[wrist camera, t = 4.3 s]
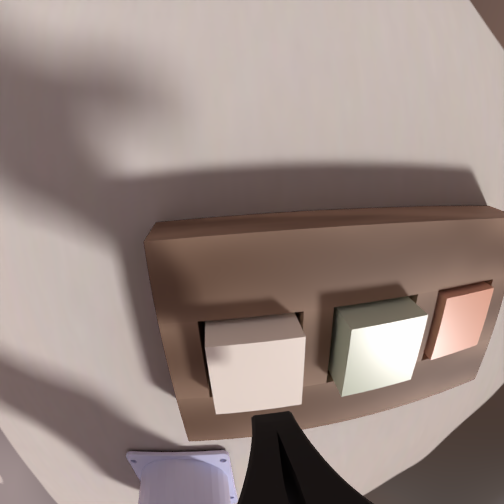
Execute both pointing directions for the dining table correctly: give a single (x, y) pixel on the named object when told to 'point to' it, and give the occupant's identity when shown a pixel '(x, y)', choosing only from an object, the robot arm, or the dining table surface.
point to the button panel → (317, 295)
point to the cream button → (255, 362)
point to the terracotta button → (458, 319)
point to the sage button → (375, 344)
